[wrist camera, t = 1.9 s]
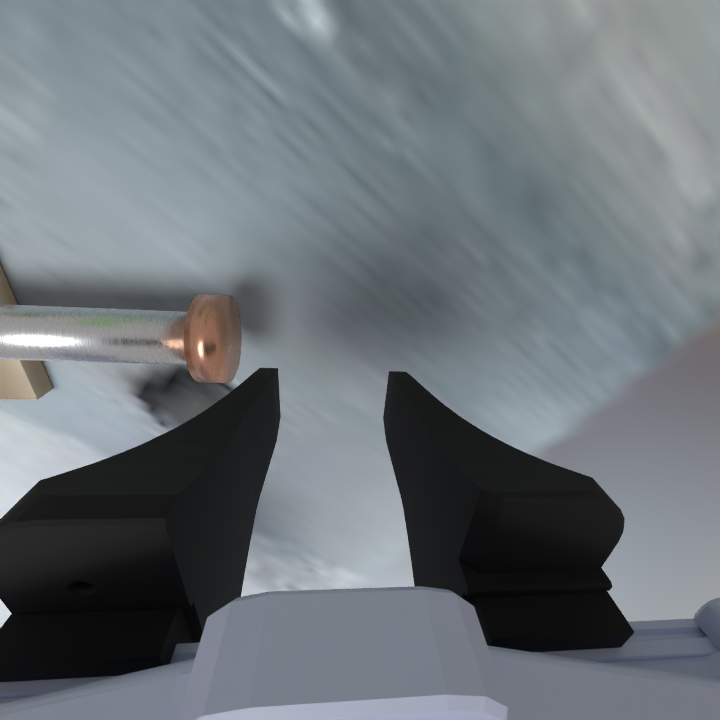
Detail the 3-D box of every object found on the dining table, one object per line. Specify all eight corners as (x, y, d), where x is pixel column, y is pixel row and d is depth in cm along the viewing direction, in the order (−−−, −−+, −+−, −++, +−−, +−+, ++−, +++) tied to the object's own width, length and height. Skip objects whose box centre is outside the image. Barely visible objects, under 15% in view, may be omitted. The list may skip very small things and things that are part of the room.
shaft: (236, 285, 16) (209, 312, 12) (244, 358, 18) (222, 400, 14) (-192, 265, 14) (-364, 289, 11) (-135, 347, 16) (-266, 391, 13)
